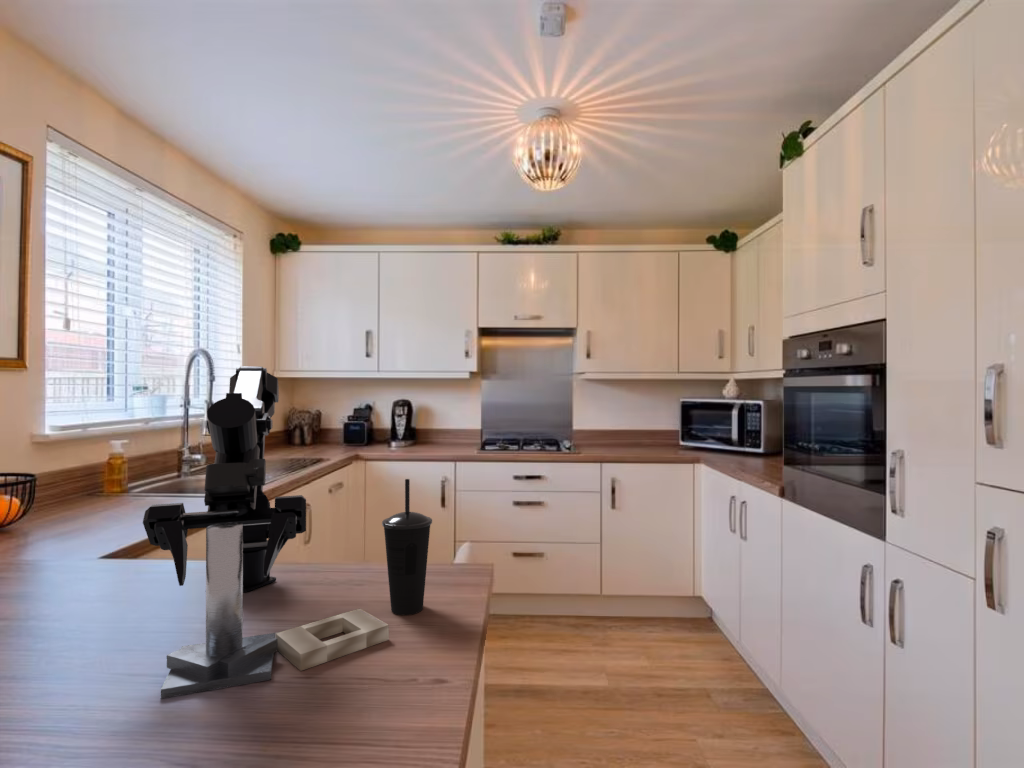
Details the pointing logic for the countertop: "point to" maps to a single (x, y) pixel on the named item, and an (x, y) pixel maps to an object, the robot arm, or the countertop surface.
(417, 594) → the drinking cup
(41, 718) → the countertop surface
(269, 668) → the v block
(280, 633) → the beige rectangular frame
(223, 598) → the axle
